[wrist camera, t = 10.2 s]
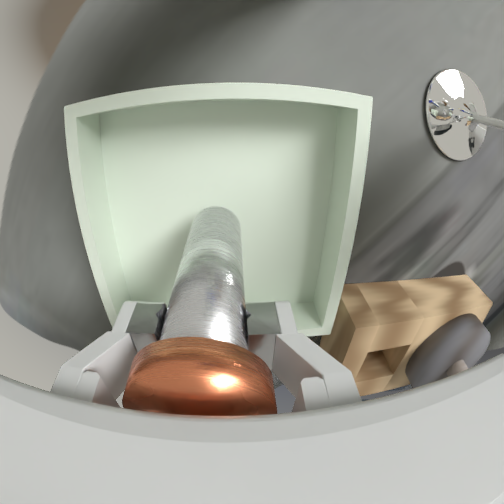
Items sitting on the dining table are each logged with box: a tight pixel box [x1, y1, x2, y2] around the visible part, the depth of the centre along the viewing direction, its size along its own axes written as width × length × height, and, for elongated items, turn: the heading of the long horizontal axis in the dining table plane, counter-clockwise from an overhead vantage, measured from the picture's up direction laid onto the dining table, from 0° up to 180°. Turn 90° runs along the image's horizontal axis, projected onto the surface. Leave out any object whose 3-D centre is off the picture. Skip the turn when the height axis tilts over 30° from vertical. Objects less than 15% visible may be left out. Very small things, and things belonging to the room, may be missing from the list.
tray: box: [64, 83, 373, 336], centre depth 16 cm, size 16×16×4 cm
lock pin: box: [122, 206, 277, 416], centre depth 11 cm, size 4×4×11 cm
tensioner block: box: [319, 275, 493, 396], centre depth 21 cm, size 16×10×9 cm, turn 89°
